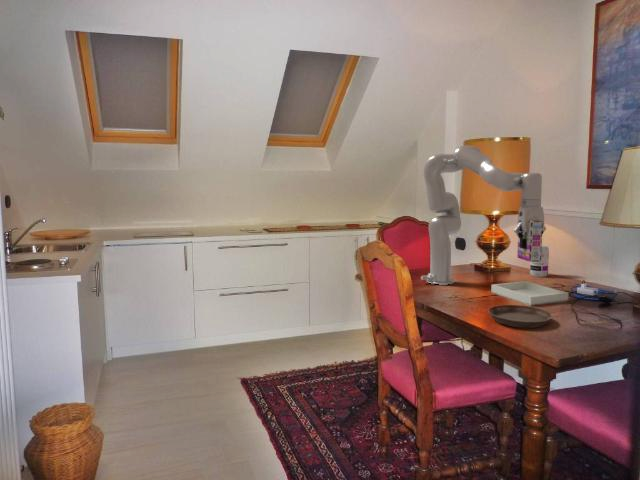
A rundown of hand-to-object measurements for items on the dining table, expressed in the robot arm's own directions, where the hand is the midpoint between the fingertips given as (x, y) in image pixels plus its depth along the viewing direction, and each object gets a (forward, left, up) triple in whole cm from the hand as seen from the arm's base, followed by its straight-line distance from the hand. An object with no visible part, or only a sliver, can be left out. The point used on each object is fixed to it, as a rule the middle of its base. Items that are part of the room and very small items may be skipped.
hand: (529, 247), depth 208 cm
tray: (0, 0, -21) cm, 21 cm away
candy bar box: (0, 0, -5) cm, 5 cm away
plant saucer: (-26, -26, -21) cm, 43 cm away
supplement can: (+34, +32, -21) cm, 51 cm away
